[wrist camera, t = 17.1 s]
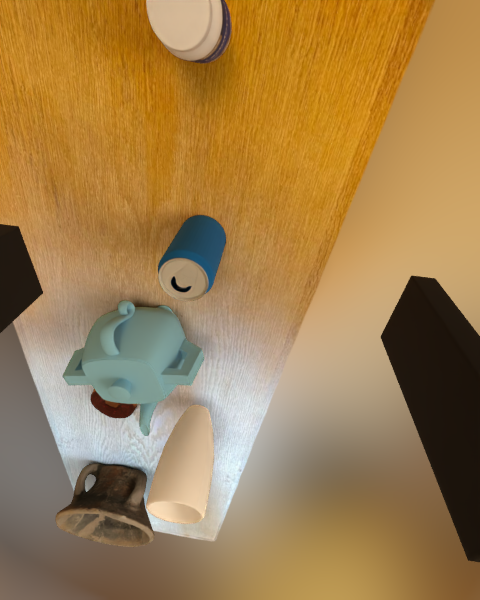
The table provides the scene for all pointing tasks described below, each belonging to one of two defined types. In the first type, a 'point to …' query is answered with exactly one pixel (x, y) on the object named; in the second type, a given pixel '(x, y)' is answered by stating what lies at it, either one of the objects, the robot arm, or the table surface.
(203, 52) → the pill bottle
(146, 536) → the brown clay pot
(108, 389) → the teapot
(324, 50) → the table surface
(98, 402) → the donut
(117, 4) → the table surface
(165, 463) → the cup
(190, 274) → the beverage can
